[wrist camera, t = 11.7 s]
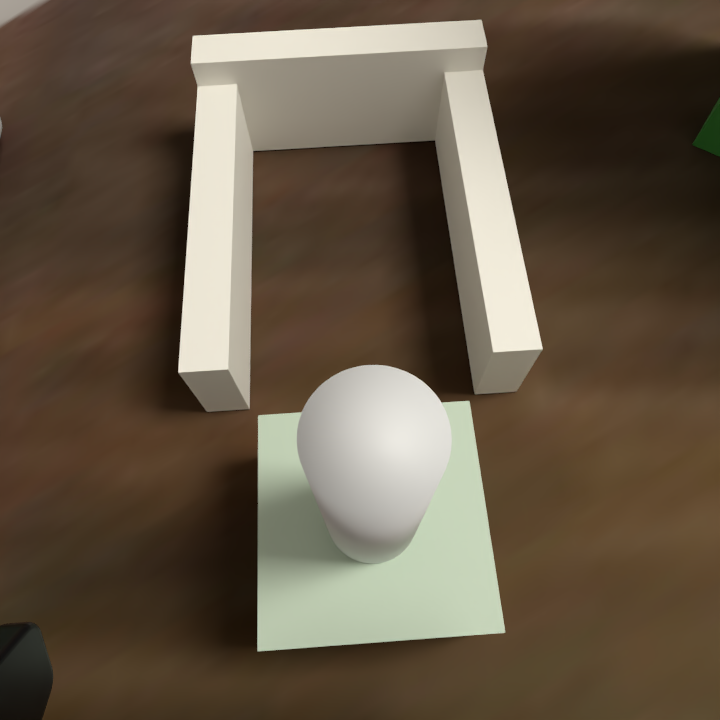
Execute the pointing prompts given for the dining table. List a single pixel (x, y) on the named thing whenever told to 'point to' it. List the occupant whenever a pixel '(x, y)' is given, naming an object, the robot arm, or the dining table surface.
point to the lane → (343, 128)
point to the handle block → (372, 518)
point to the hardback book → (710, 132)
